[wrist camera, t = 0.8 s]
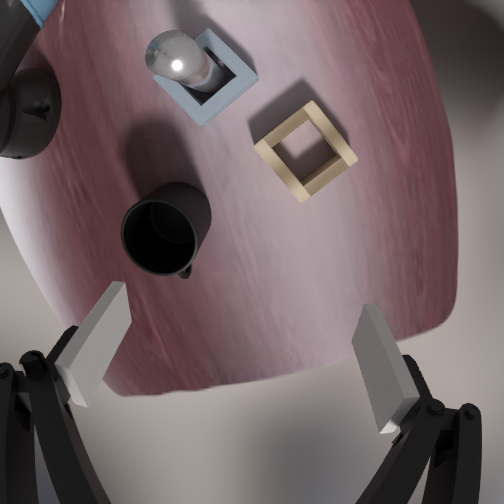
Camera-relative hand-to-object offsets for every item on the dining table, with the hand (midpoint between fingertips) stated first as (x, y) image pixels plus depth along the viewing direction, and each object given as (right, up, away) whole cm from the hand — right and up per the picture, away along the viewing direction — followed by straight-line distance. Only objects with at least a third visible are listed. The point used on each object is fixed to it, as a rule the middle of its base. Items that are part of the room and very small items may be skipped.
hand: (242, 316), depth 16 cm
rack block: (+7, +16, +20) cm, 27 cm away
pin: (-5, +25, +17) cm, 31 cm away
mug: (-9, +7, +26) cm, 28 cm away
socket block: (-5, +25, +17) cm, 31 cm away
